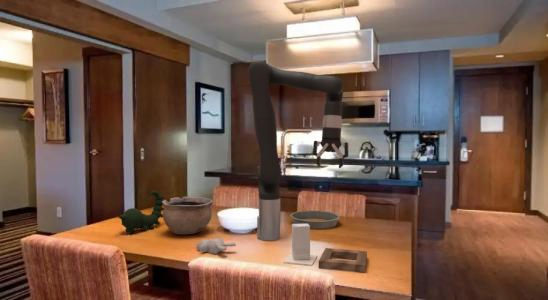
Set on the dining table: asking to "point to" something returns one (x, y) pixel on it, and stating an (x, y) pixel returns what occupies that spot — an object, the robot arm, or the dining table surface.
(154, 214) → the toy figurine
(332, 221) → the cake pan
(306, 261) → the ceramic tile
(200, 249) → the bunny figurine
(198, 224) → the ceramic bowl
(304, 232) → the skincare box
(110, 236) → the dining table surface
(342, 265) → the frame
